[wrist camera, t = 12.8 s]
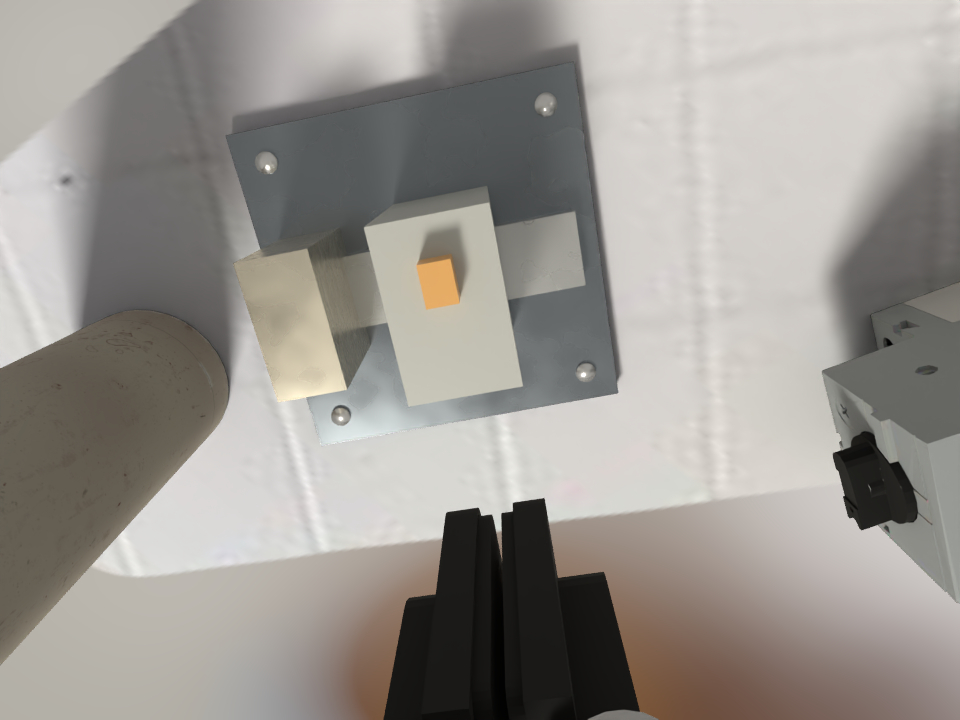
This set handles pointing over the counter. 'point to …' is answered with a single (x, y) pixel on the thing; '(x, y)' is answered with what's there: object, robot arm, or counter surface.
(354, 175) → the mounting plate
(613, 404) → the counter surface
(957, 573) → the circuit breaker
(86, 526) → the thermos bottle
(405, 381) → the block
